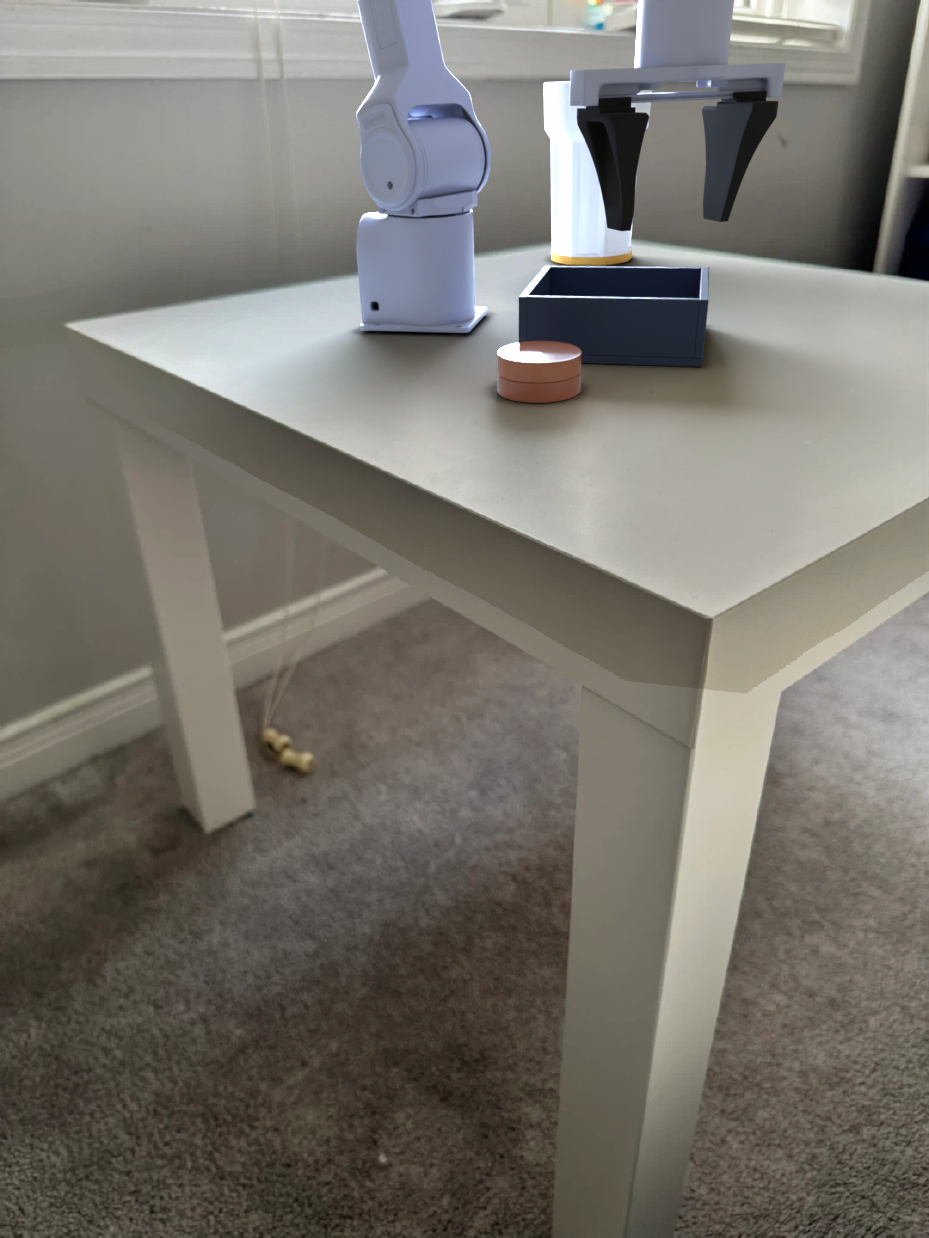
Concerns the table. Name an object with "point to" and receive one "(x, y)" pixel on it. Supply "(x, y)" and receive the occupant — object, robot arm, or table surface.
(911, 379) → the table surface
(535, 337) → the tub
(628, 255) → the cup
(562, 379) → the orange round tin
